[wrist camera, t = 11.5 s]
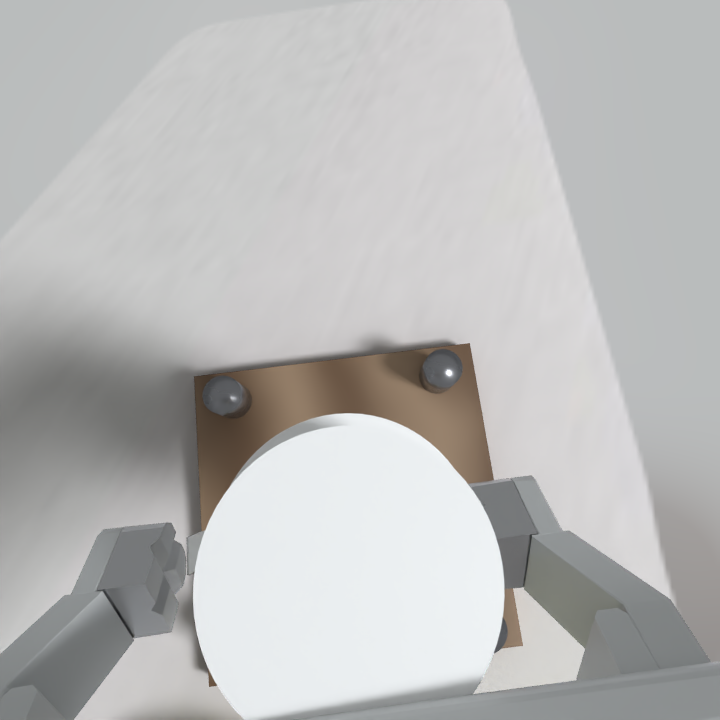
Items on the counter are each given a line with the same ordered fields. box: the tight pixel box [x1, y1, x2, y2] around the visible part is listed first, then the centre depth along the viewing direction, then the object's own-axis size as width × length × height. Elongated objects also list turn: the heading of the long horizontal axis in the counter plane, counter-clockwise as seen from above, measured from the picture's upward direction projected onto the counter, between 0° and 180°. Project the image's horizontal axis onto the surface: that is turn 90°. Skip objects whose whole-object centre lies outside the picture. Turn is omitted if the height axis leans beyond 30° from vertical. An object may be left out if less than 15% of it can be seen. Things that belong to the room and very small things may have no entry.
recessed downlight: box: [187, 413, 505, 720], centre depth 12 cm, size 8×7×10 cm
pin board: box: [194, 343, 523, 687], centre depth 26 cm, size 16×16×4 cm
